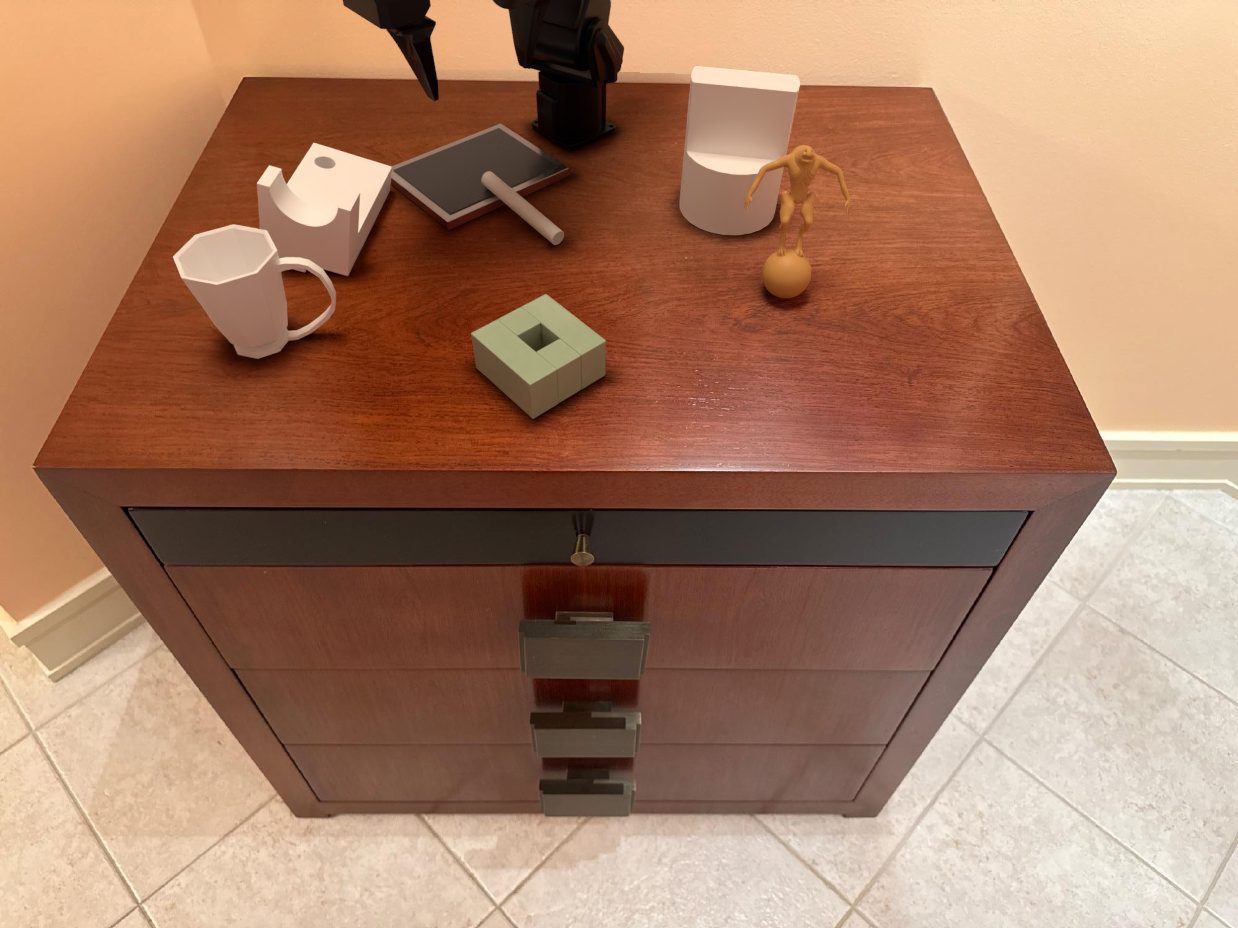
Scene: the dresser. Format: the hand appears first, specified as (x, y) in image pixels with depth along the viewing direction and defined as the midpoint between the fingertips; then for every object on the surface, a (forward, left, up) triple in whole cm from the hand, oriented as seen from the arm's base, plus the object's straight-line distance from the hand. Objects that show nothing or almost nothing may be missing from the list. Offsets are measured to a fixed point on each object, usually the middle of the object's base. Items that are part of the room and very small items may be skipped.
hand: (480, 82), depth 67 cm
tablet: (-1, -4, -11) cm, 12 cm away
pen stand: (+11, +21, -11) cm, 26 cm away
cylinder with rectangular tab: (-16, +15, -11) cm, 25 cm away
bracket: (+13, -5, -11) cm, 18 cm away
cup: (+24, +5, -11) cm, 27 cm away
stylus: (0, -1, -9) cm, 9 cm away
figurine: (-11, +26, -11) cm, 30 cm away
